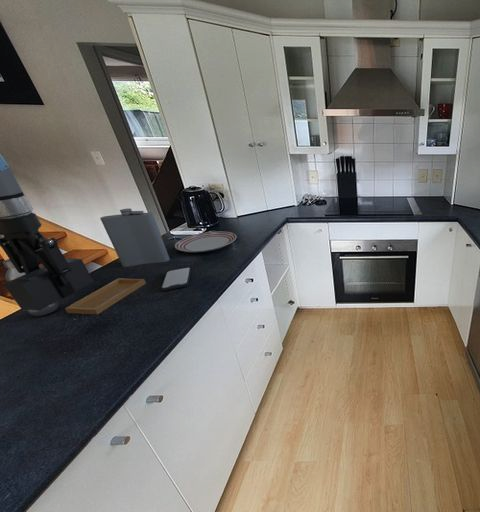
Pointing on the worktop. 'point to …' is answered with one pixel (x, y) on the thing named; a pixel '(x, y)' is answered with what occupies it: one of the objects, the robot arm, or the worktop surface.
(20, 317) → the worktop surface
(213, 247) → the dinner plate
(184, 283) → the phone case
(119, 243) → the flask
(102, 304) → the tray
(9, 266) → the plastic bottle
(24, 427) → the worktop surface
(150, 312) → the worktop surface
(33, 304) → the gadget
